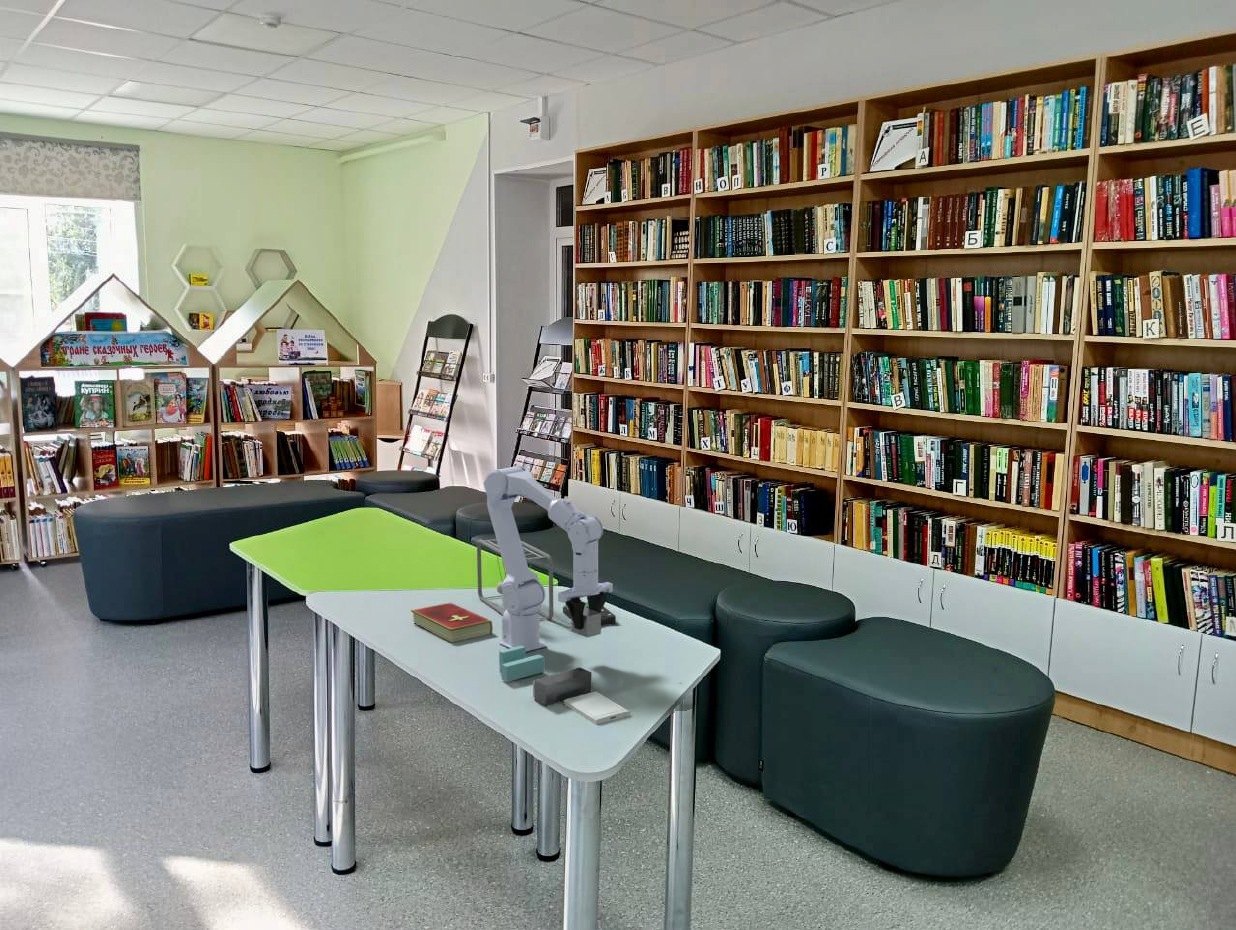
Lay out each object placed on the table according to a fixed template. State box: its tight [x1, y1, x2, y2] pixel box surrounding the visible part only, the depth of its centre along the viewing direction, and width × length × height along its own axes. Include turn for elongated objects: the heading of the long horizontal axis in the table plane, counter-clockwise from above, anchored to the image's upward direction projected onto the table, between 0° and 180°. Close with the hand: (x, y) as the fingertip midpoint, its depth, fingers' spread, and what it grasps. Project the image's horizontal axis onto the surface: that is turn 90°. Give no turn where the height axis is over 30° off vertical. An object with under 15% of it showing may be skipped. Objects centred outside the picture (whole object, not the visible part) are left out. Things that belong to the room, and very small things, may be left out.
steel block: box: [570, 607, 602, 638], centre depth 225 cm, size 6×4×5 cm, turn 40°
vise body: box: [532, 666, 593, 707], centre depth 205 cm, size 6×12×4 cm, turn 130°
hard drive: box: [563, 691, 631, 725], centre depth 198 cm, size 2×8×12 cm
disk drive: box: [562, 601, 617, 627], centre depth 260 cm, size 10×3×15 cm
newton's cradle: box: [476, 538, 554, 621], centre depth 266 cm, size 30×10×18 cm, turn 28°
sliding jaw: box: [498, 646, 545, 683], centre depth 217 cm, size 6×10×5 cm, turn 130°
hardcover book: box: [410, 601, 493, 643], centre depth 251 cm, size 12×21×4 cm, turn 39°
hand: (586, 626), depth 225 cm, fingers closed on steel block, 4 cm apart
